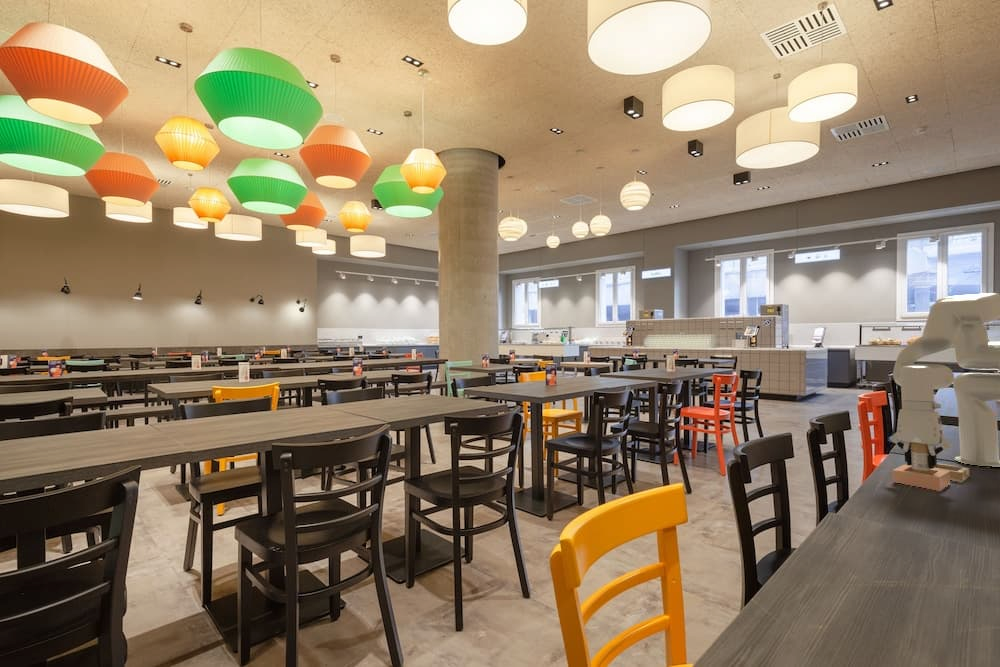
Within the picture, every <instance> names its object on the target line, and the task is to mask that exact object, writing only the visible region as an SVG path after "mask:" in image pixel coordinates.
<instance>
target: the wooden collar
mask: <svg viewBox="0 0 1000 667" xmlns="http://www.w3.org/2000/svg"><path fill="white" fill-rule="evenodd" d="M933 469H938V470H945V471H950V480H954V481H953V482H955V481H960V482H959V483H961V482H962V483H964V482H965V481H966V480H965V479H966V478H968V477H969V476H970V477H971V475H970V468H969V467H966V466H960V465H959V466H958V465H951V464H945V463H938V462H937V466H935V467H934V468H933ZM968 479H969V478H968ZM964 480H965V481H964ZM963 481H964V482H963Z"/></svg>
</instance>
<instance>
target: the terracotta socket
mask: <svg viewBox="0 0 1000 667" xmlns="http://www.w3.org/2000/svg"><path fill="white" fill-rule="evenodd" d="M930 471H931V475H930V474H923V473H917V472H912V466H911V465H910V466H909V465H907V464H905V463H904V464H903V465H900V466H898V467H897V468H893V469H892V483H893V482H897V483H902V484H907V485H912V486H917V487H916V488H918V487H922V488H921V489H923V488H927V489H926V490H929V489H932V490H931V491H934V490H936V492H942V491H943V490H944V489H946V488H947V487H949V486H950V485H951V481H950V471H945V470H938V469H931V470H930ZM948 485H949V486H948ZM912 486H911V487H912ZM945 487H946V488H945Z"/></svg>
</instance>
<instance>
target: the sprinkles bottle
mask: <svg viewBox="0 0 1000 667" xmlns="http://www.w3.org/2000/svg"><path fill="white" fill-rule="evenodd" d="M913 442H914V443H911V466H912V472H917V473H923V474H930V475H931V471H930V470H931V469H930V468H929V466H928V455H929V453H930V452H929V449H928V446H927V445H925V444H921V443H922V441H921V440H920V439H919V438H917V437H915V438H914V440H913Z"/></svg>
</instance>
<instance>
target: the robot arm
mask: <svg viewBox="0 0 1000 667" xmlns="http://www.w3.org/2000/svg"><path fill="white" fill-rule="evenodd" d="M999 319H1000V294H999V293H996V292H994V293H993V292H991V293H990V292H989V293H978V294H962V295H952V296H944V297H941V298H938V299H937V300H935V302H934V303H933V304H931V307H930V310H929V313H928V316H927V319H926V322H925V325H924V326H925V327H924V330H923V332H922V335H921V336H919V337H918V338H917V339H915V340H914V341H912V342H910V343H909V344H908V345H906V346H905V347H904V348H903V349H902V350H901V351H900V352H899V353H898V355H897V358H896V360H895V363H894V367H893V372H892V377H893V378H892V379H893V380H894V382H895V384H897V385H898V386H900V392H901V409H899V410H898V416H897V417H898V418H897V423H896V424H897V427H896V432H895V433H894V434H893V435H892V436H891V437H890V439H889V440H890V441H891V442H893V444H896V445H897V446H898V447H899V448H900V449H901V450H902V451H903V452H904V461H905V462H906V465H909V466H910V465H911V443H914V442H913V440H914V438H915V437H917V438H919V439H920V440H921V441H922V443H921V444H925V445H927V446H928V449H929V455H928V466H929V468H930V469H933V468H934V467H935V466H937V463H938V461H937V455H938V454H940V453H941V452H942V451H945V450H947V449H950V448H951V447H952V444H951V442H949V441H948V439H947V438H945V436H944V432H943V425H942V419H941V415H940V412H939V411H936V410H937V409H941V408H942V405H941V403H936V400H935V393H934V390H936V389H939V390H940V389H941V390H943V389H947V388H948V387H950V386H953V390H954V393H955V394H954V395H955V397H956V402H957V412H958V414H957V415H958V434H959V435H958V436H959V453H960V454H959V456H955V457H954V461H955V460H956V461H958V462H961V463H960V464H962V463H964V464H963V465H966V464H970V465H969V466H971V465H978V466H977V467H979V466H992V467H1000V456H999V455H1000V454H999V453H1000V450H999V433H998V431H999V429H998V416H997V415H998V414H997V413H996V410H995V409H994V408H993V407H992V406H991V405H990V404H989V403H988V402H1000V373H993V372H992V373H989V372H963V373H960V374H958V375H956V376H955V374H954V372H953V370H952V369H951V368H950V367H948V366H946V365H943V364H935V363H932V364H931V363H930V364H929V363H928V364H926V363H915V362H917V361H919V360H920V359H921V358H924V357H926V356H930V355H933V354H936V353H939V352H942V351H946V350H949V349H951V348H954V352H955V359H956V363H957V364H958V366H959V367H960V368H963V369H966V370H978V371H979V370H980V371H981V370H983V371H1000V341H990V340H989V335H988V329H987V326H986V325H985V324H987V323H991V322H993V321H996V320H999ZM940 444H942V445H940ZM938 445H940V446H938ZM937 446H938V447H937ZM956 461H955V462H956ZM958 462H957V463H958Z"/></svg>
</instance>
